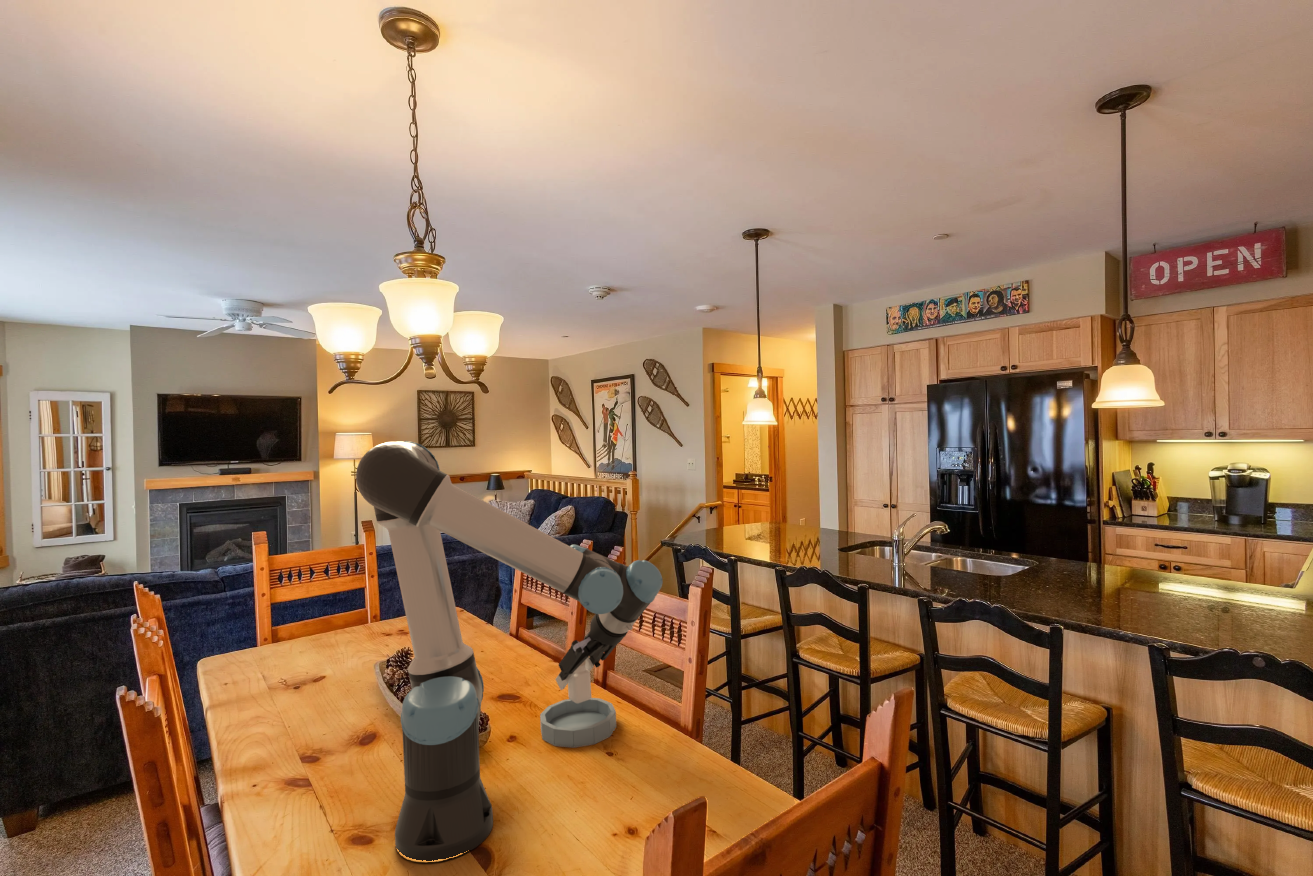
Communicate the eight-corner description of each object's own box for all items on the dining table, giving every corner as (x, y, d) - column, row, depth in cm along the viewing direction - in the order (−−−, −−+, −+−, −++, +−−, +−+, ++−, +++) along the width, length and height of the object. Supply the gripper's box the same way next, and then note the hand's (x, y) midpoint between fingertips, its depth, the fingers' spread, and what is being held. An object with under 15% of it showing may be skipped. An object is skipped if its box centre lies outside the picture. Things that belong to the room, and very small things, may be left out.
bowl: (571, 755, 126) (571, 737, 126) (526, 731, 137) (526, 715, 137) (630, 726, 137) (629, 710, 137) (584, 706, 148) (583, 691, 148)
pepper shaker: (576, 705, 134) (574, 660, 134) (567, 699, 138) (565, 656, 138) (592, 699, 137) (590, 656, 137) (583, 694, 140) (581, 651, 140)
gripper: (589, 646, 120) (543, 709, 132) (653, 624, 133) (606, 683, 144) (571, 614, 124) (528, 678, 136) (635, 595, 136) (590, 655, 148)
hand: (568, 680), depth 140 cm, fingers closed on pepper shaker, 4 cm apart
